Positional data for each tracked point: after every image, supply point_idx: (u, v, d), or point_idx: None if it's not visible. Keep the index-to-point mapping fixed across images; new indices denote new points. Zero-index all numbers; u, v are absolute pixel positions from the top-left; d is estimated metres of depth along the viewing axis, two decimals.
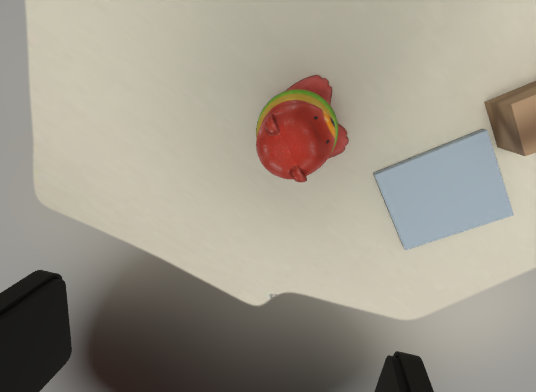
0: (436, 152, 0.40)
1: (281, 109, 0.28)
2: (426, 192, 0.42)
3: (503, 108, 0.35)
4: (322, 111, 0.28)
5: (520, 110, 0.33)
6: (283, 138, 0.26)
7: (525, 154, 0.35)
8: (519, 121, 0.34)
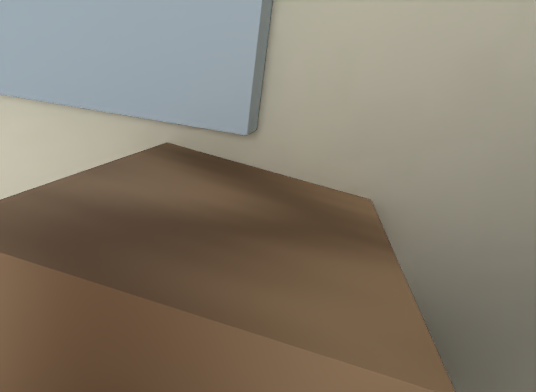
0: None
1: None
2: None
3: (377, 281, 0.05)
4: None
5: None
6: None
7: None
8: (250, 359, 0.03)
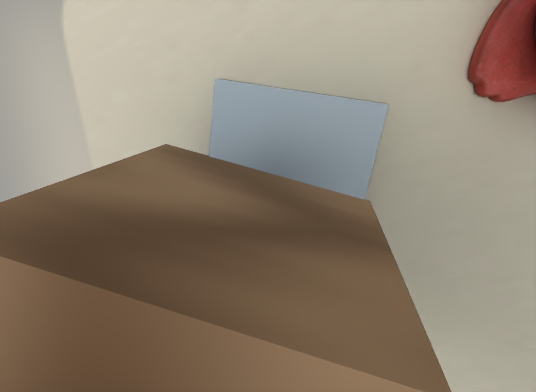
0: None
1: None
2: (302, 167, 0.23)
3: (375, 284, 0.05)
4: None
5: None
6: None
7: None
8: (249, 363, 0.03)
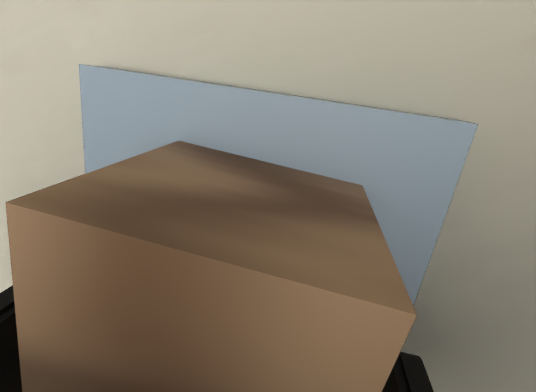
0: None
1: None
2: None
3: (362, 243, 0.06)
4: None
5: (327, 333, 0.04)
6: None
7: (16, 209, 0.05)
8: (260, 294, 0.04)
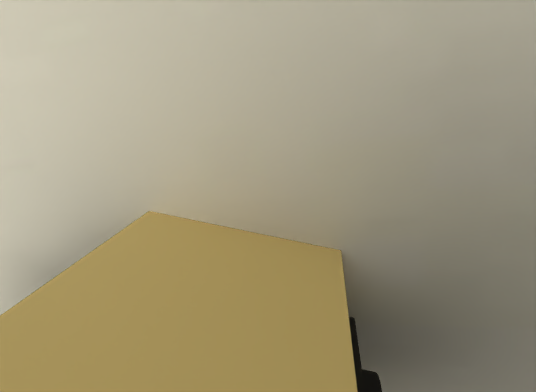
0: None
1: None
2: None
3: None
4: None
5: None
6: None
7: None
8: None
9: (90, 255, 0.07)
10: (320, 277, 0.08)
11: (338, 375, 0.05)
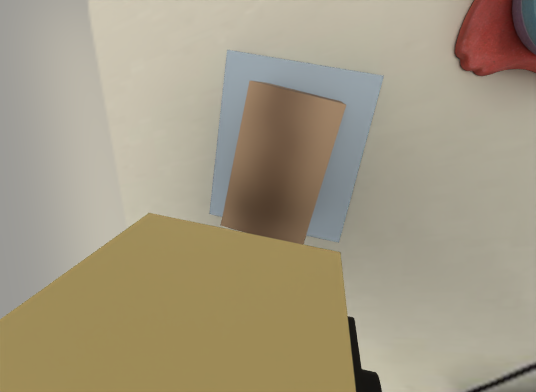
0: (353, 177, 0.26)
1: None
2: None
3: (336, 101, 0.20)
4: None
5: (326, 111, 0.19)
6: None
7: (252, 82, 0.19)
8: (311, 102, 0.19)
9: (90, 258, 0.07)
10: (319, 280, 0.08)
11: (337, 378, 0.05)
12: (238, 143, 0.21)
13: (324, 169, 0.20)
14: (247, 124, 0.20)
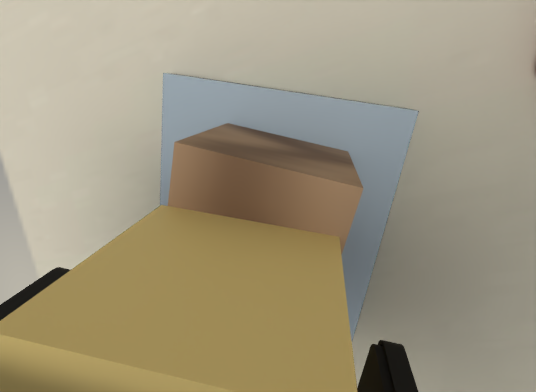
0: (369, 263, 0.17)
1: None
2: None
3: (342, 169, 0.11)
4: None
5: (324, 200, 0.10)
6: None
7: (179, 145, 0.10)
8: (293, 182, 0.10)
9: (111, 243, 0.08)
10: (320, 259, 0.09)
11: (335, 336, 0.06)
12: None
13: None
14: None
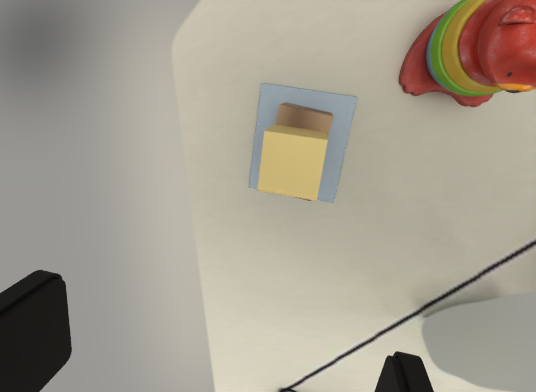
0: (341, 159, 0.42)
1: None
2: None
3: (328, 114, 0.36)
4: (535, 87, 0.24)
5: (322, 120, 0.35)
6: None
7: (281, 105, 0.35)
8: (314, 115, 0.35)
9: (269, 127, 0.33)
10: (321, 133, 0.33)
11: (324, 137, 0.31)
12: None
13: None
14: None
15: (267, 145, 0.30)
